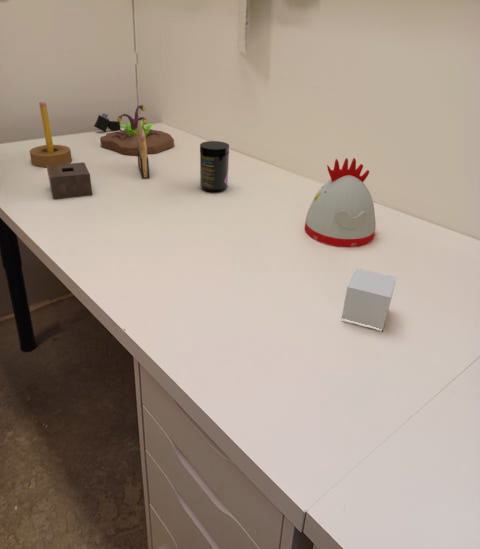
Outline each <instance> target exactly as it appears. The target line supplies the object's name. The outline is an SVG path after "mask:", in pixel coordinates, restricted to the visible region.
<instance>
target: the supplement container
mask: <svg viewBox="0 0 480 549" xmlns="http://www.w3.org/2000/svg"><path fill="white" fill-rule="evenodd" d="M229 159H230V144H229V143H227V142H224V141H221V140H220V141H219V140H208V141H204V142H203V141H202V142H201V143H200V144H199V166H200V168H199V169H200V170H199V175H200V176H199V180H200V182H199V186H200V188H201V190H202V191H204V192H207V193H222V192H225V191H226V190H227V189H228V188H229V166H230V164H229V163H230V160H229Z"/></svg>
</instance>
